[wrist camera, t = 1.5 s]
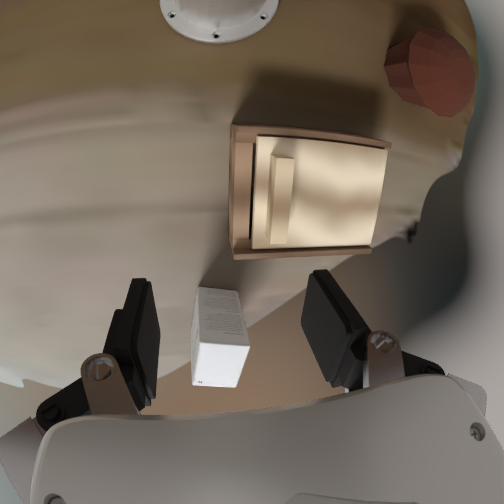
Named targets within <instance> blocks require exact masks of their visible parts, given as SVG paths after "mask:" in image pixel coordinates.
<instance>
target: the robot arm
mask: <svg viewBox="0 0 504 504" xmlns="http://www.w3.org/2000/svg"><path fill="white" fill-rule="evenodd" d="M278 3H279V0H160V7H161V11H162V14H163V16H164V18H165V20H166V21H167V22H168V24H169V25H170V26H171V27H172V28H173V29H174V30H175V31H176V32H178V33H180V34H181V35H183V36H185V37H187V38H190V39H192V40H195V41H199V42H204V43H216V44H220V43H230V42H234V41H239V40H242V39H245V38H247V37H250V36H252V35H253V34H255V33H257V32H258V31H260V30H261V29H262V28H263V27H264V26H266V25H267V24H268V22H269V21H270V20H271V19H272V17H273V15H274V14H275V12H276V10H277V6H278ZM172 15H174V16H175V17H173V18H170V17H171V16H172ZM261 17H263V18H264V19H265V20H263V19H261ZM215 35H217V36H218V37H219V38H217V39H216V38H214V36H215ZM301 326H302V328H303V331H304V333H305V335H306V337H307V340H308V342H309V344H310V346H311V349H312V351H313V353H314V355H315V358H316V360H317V362H318V364H319V366H320V369H321V371H322V373H323V376H324V378H325V380H326V381H327V382H329V381H330V384H331V386H332V388H334V387H338V386H343V387H345V393H343V394H339V395H335V396H331V397H326V398H322V399H317V400H312V401H306V402H301V403H296V404H290V405H283V406H277V407H270V408H263V409H255V410H247V411H237V412H225V413H212V414H194V415H141V413H140V411H141V410H142V409H143V408H145V406H151V399H155V397H156V383H157V369H158V356H159V345H160V327H159V322H158V318H157V312H156V307H155V302H154V296H153V291H152V285H151V282H150V281H147V280H146V278H133V279H132V281H131V285H130V288H129V291H128V294H127V297H126V301H125V304H124V307H123V309H116V310H115V312H114V315H113V318H112V322H111V325H110V328H109V332H108V335H107V339H106V342H105V346H104V349H103V353H99V354H94V355H92V356H90V357H88V358H87V359H86V360H85V361H84V362H83V364H82V366H81V378H79V379H78V380H76V381H75V382H73V383H72V384H70V385H68V386H67V387H65V388H64V389H62V390H61V391H59V392H58V393H56V394H54V395H53V396H51V397H50V398H48V399H46V400H45V401H44V402H43V403H41V404H40V406H39V407H38V409H37V413H36V417H35V418H33V419H32V418H31V417H29V418H28V419H26V420H25V421H24V422H22V423H20V424H19V425H18V426H16V427H15V428H13V429H12V430H11V431H9V432H7V433H6V434H5V435H3V436H2V437H1V438H0V463H1V465H2V466H3V469H4V471H5V473H6V474H7V476H8V478H9V480H10V482H11V483H12V485H13V487H14V488H15V490H16V492H17V494H18V495H19V497H20V498H21V500H22V501H23V503H24V504H504V450H503V448H502V446H501V444H500V442H499V441H498V439H497V437H496V435H495V434H494V432H493V430H492V428H491V427H490V425H489V423H488V422H487V420H486V418H485V412H486V400H487V396H486V392H485V390H484V389H483V388H482V387H481V386H479V385H477V384H475V383H472V382H469V381H466V380H464V379H462V378H459V377H456V376H454V375H451V374H449V373H448V375H447V376H446V375H445V373H444V371H443V369H442V368H441V367H440V366H439V365H438V364H436V363H433V362H431V361H428V360H425V359H422V358H420V357H417V356H414V355H412V354H409V353H406V352H404V351H401V346H400V343H399V340H398V339H397V338H396V337H395V336H394V335H392V334H390V333H389V332H385V331H374V332H371V330H370V329H369V327H368V326H367V324H366V323H365V321H364V320H363V318H362V317H361V316H360V314H359V313H358V311H357V310H356V308H355V307H354V306H353V304H352V303H351V301H350V300H349V299H348V297H347V296H346V295H345V293H344V292H343V290H342V289H341V288H340V286H339V285H338V284H337V282H336V281H335V279H334V278H333V277H332V275H331V274H330V273H329V271H328V270H327V269H322V270H314V271H313V273H311V274H310V275H309V279H308V285H307V291H306V296H305V301H304V307H303V312H302V317H301Z"/></svg>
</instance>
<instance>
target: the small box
mask: <svg viewBox="0 0 504 504" xmlns="http://www.w3.org/2000/svg"><path fill="white" fill-rule="evenodd" d="M250 346H251V345H250V341H249V337H248V332H247V328H246V324H245V320H244V316H243V311H242V307H241V303H240V299H239V294H238V291H231V290H223V289H215V288H207V287H198V291H197V297H196V303H195V309H194V315H193V322H192V328H191V364H192V385H201V386H215V387H236V386H237V383H238V381H239V377H240V375H241V372H242V369H243V366H244V363H245V360H246V357H247V355H248V352H249V349H250Z"/></svg>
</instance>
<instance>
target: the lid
mask: <svg viewBox="0 0 504 504" xmlns="http://www.w3.org/2000/svg"><path fill="white" fill-rule="evenodd" d="M387 152H388V150H385V149H380V148H374V147H368V146H361V145H355V144H347V143H340V142H331V141H322V140H312V139H301V138H288V137H272V136H257V139H256V158H255V178H254V198H253V218H252V238H251V247H252V249H274V248H301V247H329V246H357V245H370V244H371V240H372V235H373V231H374V226H375V222H376V217H377V212H378V207H379V202H380V196H381V191H382V185H383V179H384V173H385V166H386V159H387Z"/></svg>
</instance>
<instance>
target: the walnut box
mask: <svg viewBox="0 0 504 504" xmlns="http://www.w3.org/2000/svg"><path fill="white" fill-rule="evenodd" d="M257 136H272V137H288V138H301V139H312V140H322V141H331V142H340V143H347V144H355V145H361V146H368V147H374V148H380V149H384V148H385V147H386V148H391V144H392V143H390V142H386V141H382V140H378V139H374V138H370V137H366V136H361V135H355V134H348V133H341V132H334V131H326V130H318V129H309V128H298V127H287V126H272V125H252V124H231V130H230V161H229V204H228V236H229V241H230V245H231V249H232V253H233V258H234V260H242V259H265V258H287V257H308V256H329V255H349V254H369V253H371V251H372V248H371V247H370V246H368V245H357V246H329V247H301V248H274V249H252V247H251V238H252V218H253V198H254V178H255V158H256V139H257Z"/></svg>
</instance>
